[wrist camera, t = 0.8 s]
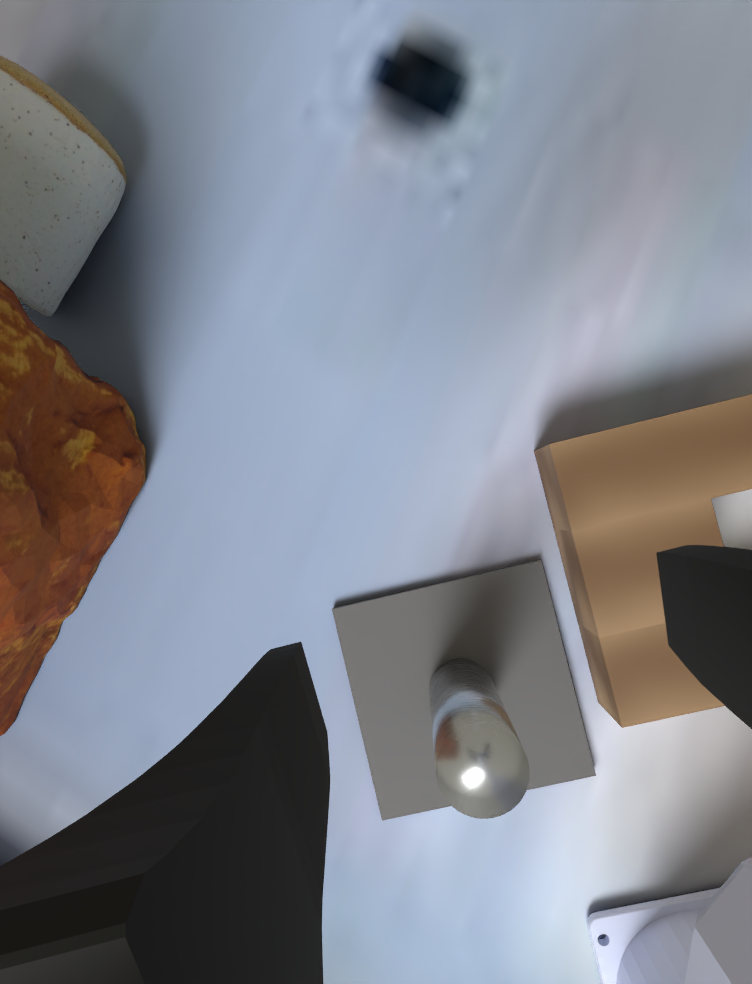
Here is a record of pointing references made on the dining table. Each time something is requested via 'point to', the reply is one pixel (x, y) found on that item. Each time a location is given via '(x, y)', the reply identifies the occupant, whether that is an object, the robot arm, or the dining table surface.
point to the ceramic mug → (50, 188)
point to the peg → (475, 742)
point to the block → (641, 542)
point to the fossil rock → (53, 491)
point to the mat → (450, 635)
